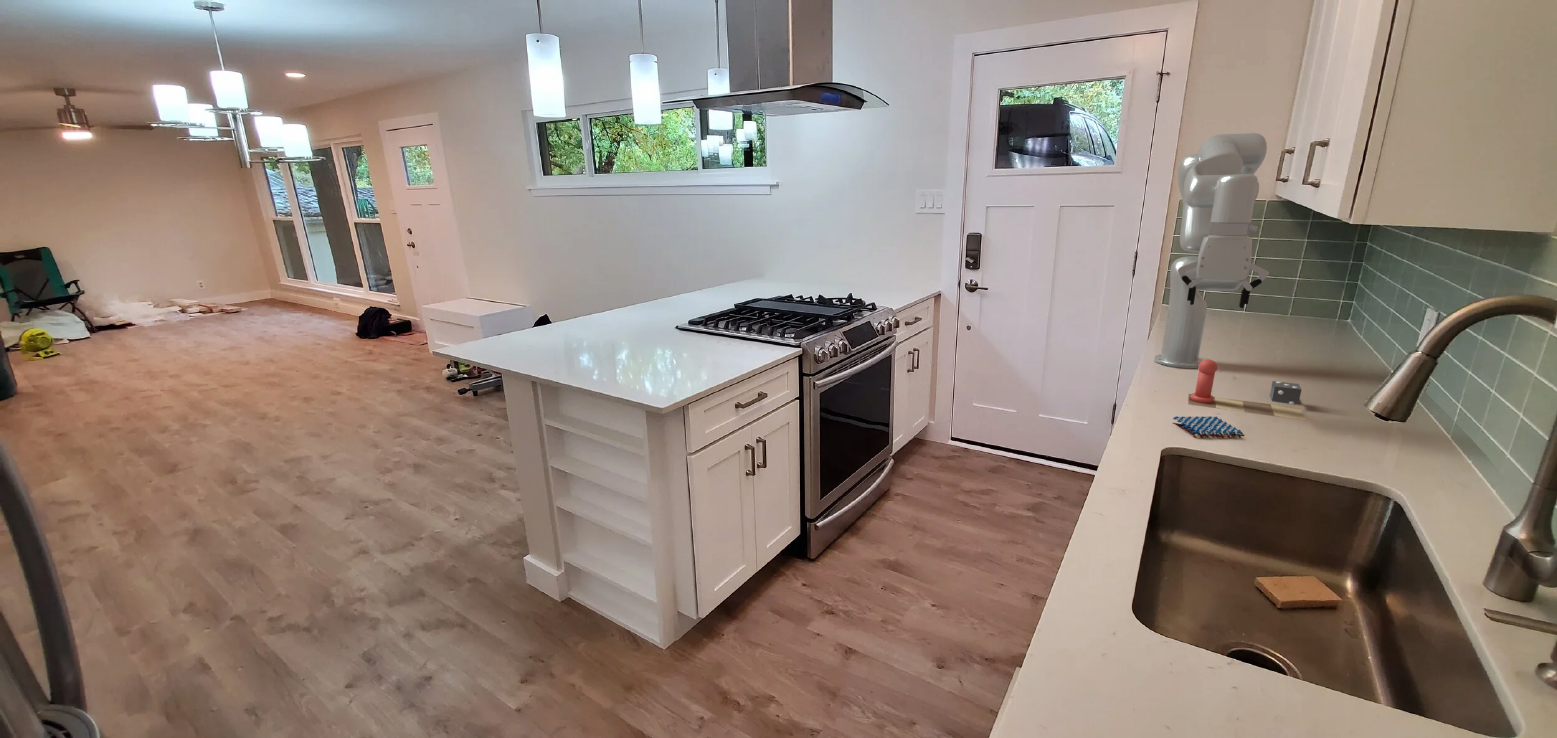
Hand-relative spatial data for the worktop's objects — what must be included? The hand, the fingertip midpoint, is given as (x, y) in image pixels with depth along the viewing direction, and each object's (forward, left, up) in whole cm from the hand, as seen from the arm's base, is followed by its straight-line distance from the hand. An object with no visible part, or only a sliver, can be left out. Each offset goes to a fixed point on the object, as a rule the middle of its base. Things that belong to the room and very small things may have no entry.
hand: (1216, 305), depth 147 cm
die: (-9, +17, -25) cm, 31 cm away
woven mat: (+19, +1, -25) cm, 31 cm away
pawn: (+1, 0, -23) cm, 23 cm away
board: (+1, +9, -24) cm, 26 cm away
